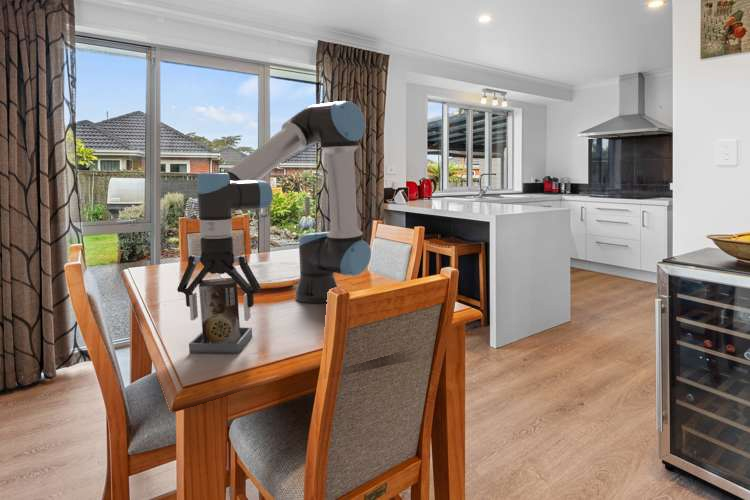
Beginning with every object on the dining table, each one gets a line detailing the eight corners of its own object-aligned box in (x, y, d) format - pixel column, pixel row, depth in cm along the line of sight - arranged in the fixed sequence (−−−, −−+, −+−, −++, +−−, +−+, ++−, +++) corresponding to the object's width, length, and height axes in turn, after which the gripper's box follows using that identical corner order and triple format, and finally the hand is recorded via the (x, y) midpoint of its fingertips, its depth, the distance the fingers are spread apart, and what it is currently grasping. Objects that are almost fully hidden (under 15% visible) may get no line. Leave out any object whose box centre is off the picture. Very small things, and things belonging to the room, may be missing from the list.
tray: (207, 335, 124) (207, 327, 123) (252, 336, 124) (251, 327, 123) (189, 353, 112) (188, 343, 112) (238, 353, 112) (238, 344, 111)
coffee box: (239, 335, 122) (236, 276, 119) (241, 344, 116) (238, 282, 113) (203, 339, 119) (199, 279, 116) (202, 348, 113) (198, 285, 110)
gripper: (158, 238, 109) (165, 323, 113) (263, 238, 109) (266, 324, 113) (172, 233, 117) (178, 313, 120) (270, 234, 116) (273, 314, 120)
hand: (221, 319), depth 117 cm, fingers open, 13 cm apart
